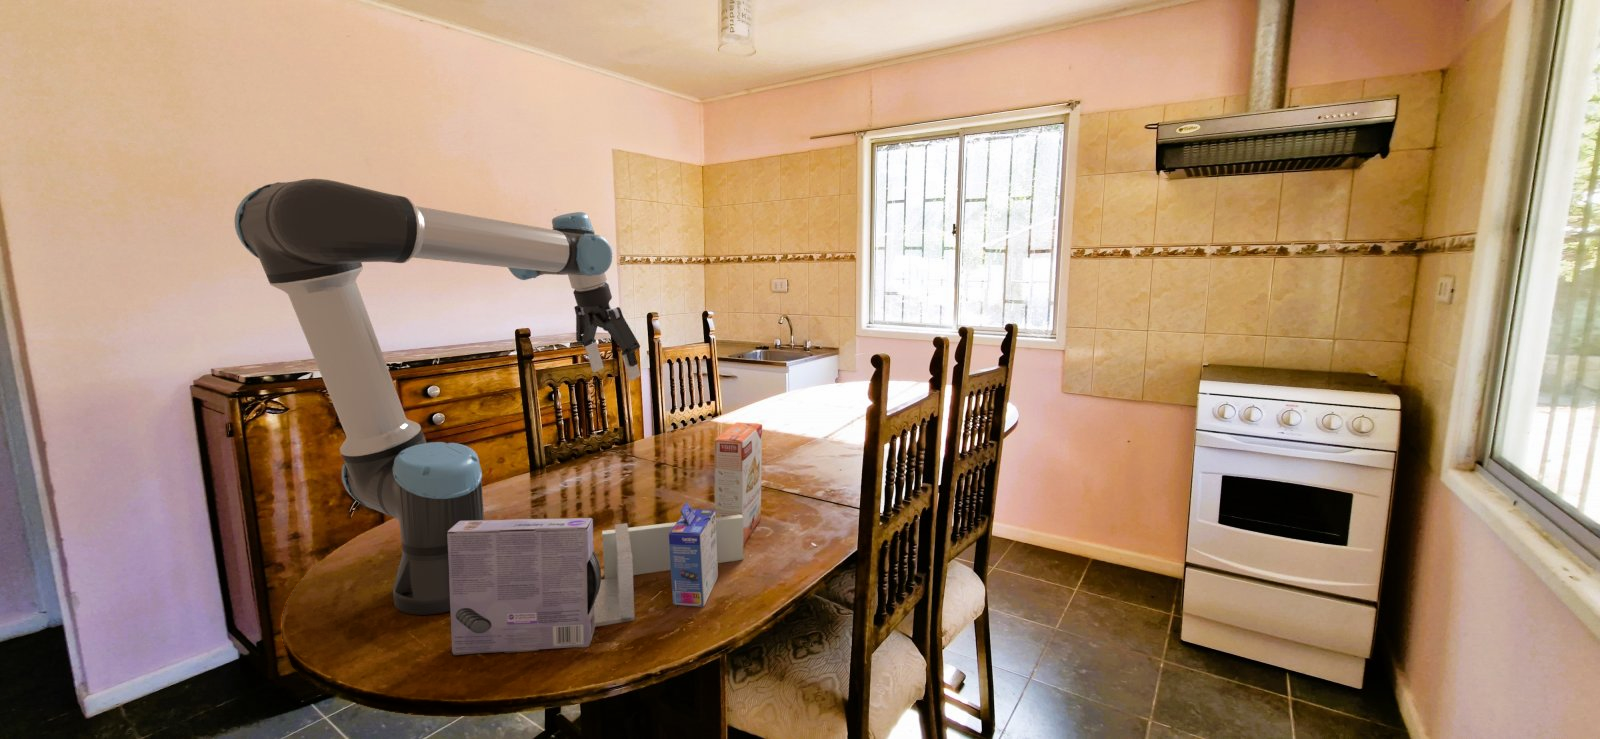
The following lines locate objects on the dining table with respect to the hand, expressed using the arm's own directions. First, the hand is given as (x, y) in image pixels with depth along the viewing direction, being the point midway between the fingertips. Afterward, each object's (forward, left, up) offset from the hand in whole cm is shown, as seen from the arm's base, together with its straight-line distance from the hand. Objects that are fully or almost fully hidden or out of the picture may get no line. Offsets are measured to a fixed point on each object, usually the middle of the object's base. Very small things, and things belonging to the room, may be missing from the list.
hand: (616, 374), depth 144 cm
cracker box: (+21, -33, -28) cm, 48 cm away
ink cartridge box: (+9, -53, -28) cm, 60 cm away
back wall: (+7, -44, -27) cm, 52 cm away
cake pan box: (-15, -60, -28) cm, 68 cm away
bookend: (-5, -52, -27) cm, 59 cm away
